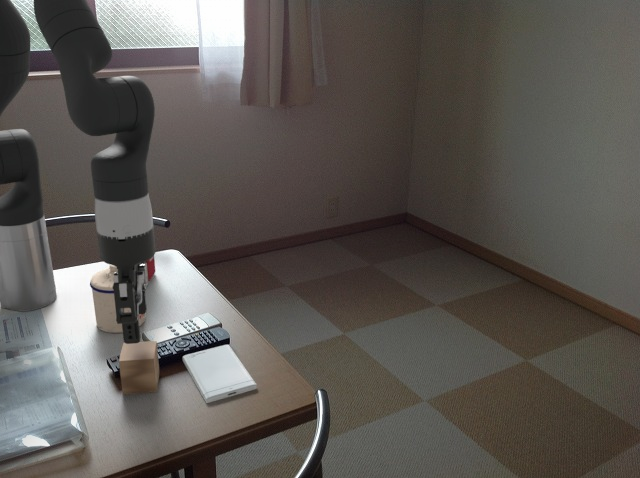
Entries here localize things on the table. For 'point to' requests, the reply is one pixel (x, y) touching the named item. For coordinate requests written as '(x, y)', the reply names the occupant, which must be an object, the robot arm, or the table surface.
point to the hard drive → (218, 373)
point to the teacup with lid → (107, 301)
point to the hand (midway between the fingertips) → (136, 327)
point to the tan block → (139, 367)
